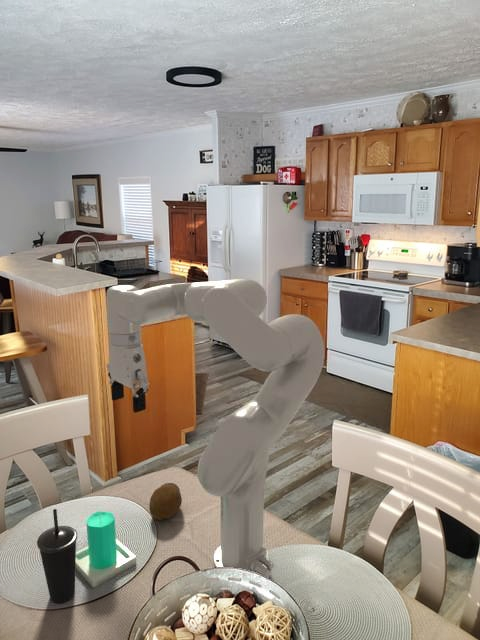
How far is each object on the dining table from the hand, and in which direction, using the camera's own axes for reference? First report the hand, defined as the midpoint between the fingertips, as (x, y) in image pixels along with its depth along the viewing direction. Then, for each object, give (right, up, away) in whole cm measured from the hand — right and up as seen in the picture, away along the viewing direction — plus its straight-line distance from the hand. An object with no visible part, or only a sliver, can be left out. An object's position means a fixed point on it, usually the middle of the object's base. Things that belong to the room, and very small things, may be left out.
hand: (128, 404), depth 125 cm
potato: (+8, -30, +7) cm, 32 cm away
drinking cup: (-9, -36, -19) cm, 42 cm away
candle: (-3, -33, -10) cm, 35 cm away
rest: (-3, -34, -10) cm, 36 cm away
